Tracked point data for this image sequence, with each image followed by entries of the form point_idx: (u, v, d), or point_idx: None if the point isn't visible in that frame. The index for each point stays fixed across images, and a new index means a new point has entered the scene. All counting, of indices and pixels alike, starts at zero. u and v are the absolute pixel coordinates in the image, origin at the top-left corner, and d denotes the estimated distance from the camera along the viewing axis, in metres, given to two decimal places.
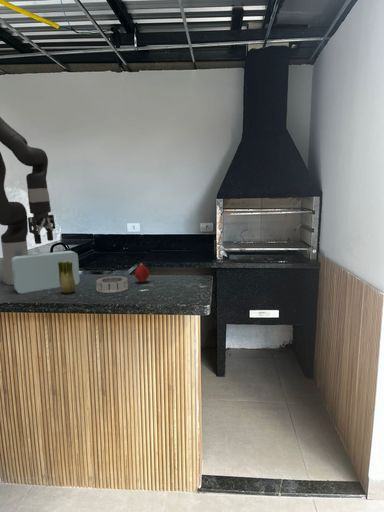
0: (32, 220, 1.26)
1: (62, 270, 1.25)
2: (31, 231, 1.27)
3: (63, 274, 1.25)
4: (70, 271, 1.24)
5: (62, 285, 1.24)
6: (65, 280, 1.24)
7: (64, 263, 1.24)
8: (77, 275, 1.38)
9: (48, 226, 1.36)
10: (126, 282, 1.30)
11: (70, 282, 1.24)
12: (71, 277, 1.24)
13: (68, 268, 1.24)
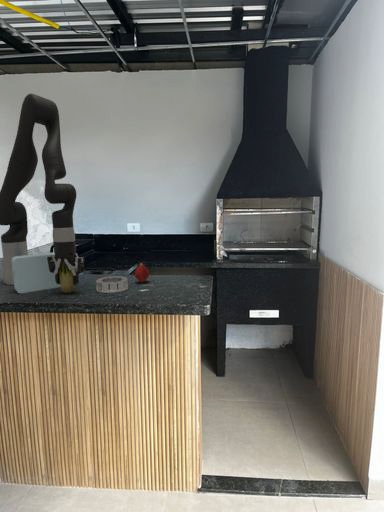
0: (83, 260, 1.24)
1: (62, 270, 1.25)
2: (81, 272, 1.24)
3: (63, 274, 1.25)
4: (70, 271, 1.24)
5: (62, 285, 1.24)
6: (65, 280, 1.24)
7: None
8: None
9: None
10: (126, 282, 1.30)
11: (70, 282, 1.24)
12: (71, 277, 1.24)
13: (68, 268, 1.24)
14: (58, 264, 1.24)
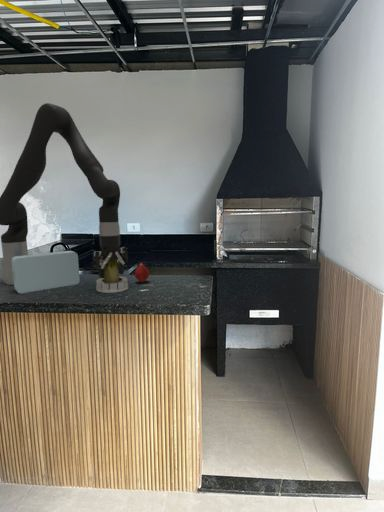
0: None
1: (109, 265, 1.28)
2: None
3: (110, 268, 1.29)
4: (116, 264, 1.31)
5: (112, 279, 1.29)
6: (114, 273, 1.29)
7: None
8: (77, 275, 1.38)
9: None
10: (126, 282, 1.30)
11: (118, 275, 1.31)
12: (117, 270, 1.31)
13: (114, 261, 1.30)
14: (108, 258, 1.26)
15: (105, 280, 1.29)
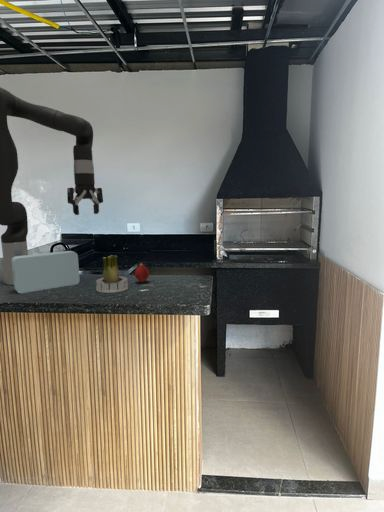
0: None
1: (109, 265, 1.28)
2: None
3: (110, 268, 1.29)
4: (116, 264, 1.31)
5: (112, 279, 1.29)
6: (114, 273, 1.29)
7: None
8: (77, 275, 1.38)
9: None
10: (126, 282, 1.30)
11: (118, 275, 1.31)
12: (117, 270, 1.31)
13: (114, 261, 1.30)
14: (82, 195, 1.32)
15: (105, 280, 1.29)
